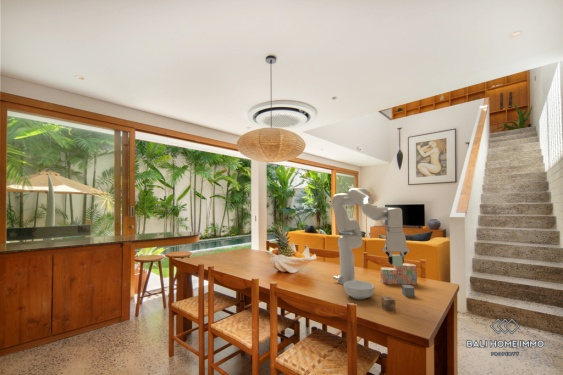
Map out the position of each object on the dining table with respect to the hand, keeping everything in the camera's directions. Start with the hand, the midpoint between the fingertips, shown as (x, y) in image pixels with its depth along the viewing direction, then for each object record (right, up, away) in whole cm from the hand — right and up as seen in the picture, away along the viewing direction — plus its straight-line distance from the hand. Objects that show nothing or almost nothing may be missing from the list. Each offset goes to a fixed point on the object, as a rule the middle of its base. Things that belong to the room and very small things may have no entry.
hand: (396, 263), depth 145 cm
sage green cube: (0, -1, 0) cm, 1 cm away
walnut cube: (-8, -20, -10) cm, 24 cm away
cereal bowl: (-18, -21, +7) cm, 29 cm away
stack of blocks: (+15, -22, +31) cm, 41 cm away
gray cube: (+11, -21, +8) cm, 25 cm away
